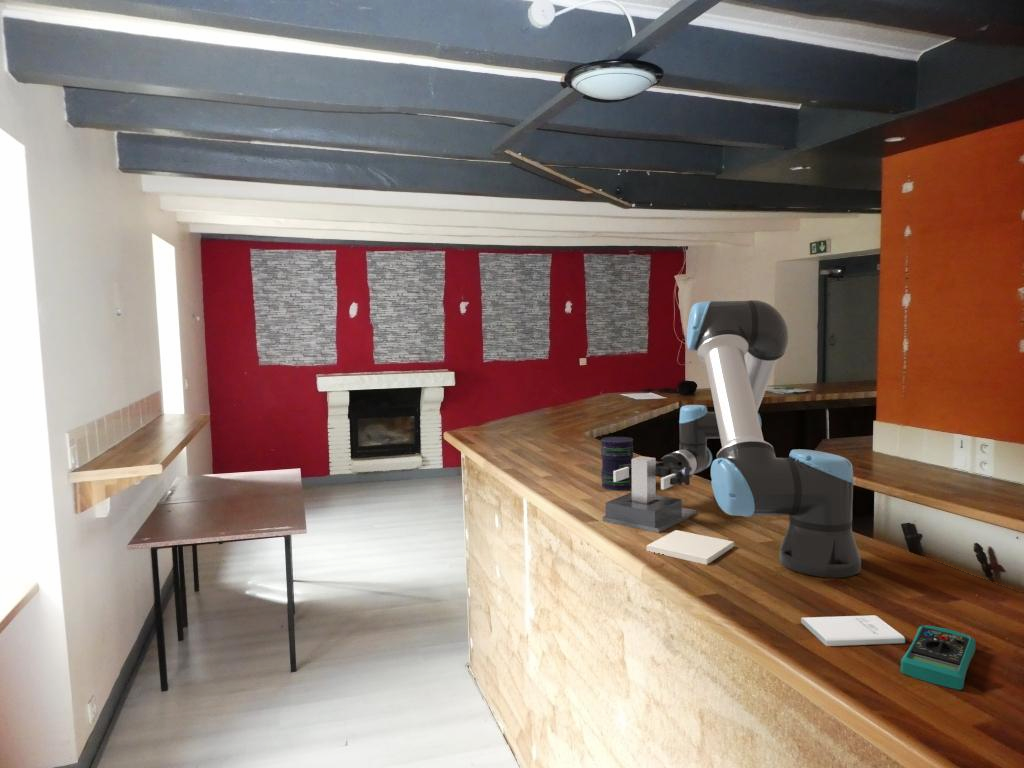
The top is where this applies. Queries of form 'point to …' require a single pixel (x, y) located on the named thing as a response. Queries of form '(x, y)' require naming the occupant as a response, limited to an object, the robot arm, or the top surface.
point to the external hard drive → (852, 630)
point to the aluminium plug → (644, 480)
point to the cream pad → (690, 546)
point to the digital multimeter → (939, 656)
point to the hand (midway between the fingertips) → (637, 480)
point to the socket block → (646, 513)
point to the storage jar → (615, 461)
